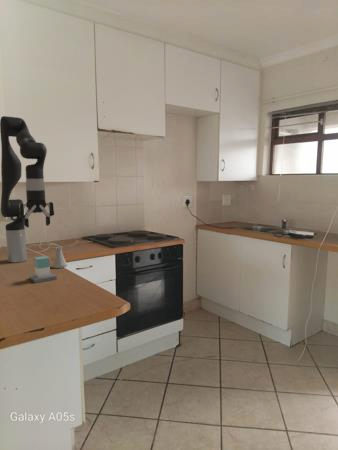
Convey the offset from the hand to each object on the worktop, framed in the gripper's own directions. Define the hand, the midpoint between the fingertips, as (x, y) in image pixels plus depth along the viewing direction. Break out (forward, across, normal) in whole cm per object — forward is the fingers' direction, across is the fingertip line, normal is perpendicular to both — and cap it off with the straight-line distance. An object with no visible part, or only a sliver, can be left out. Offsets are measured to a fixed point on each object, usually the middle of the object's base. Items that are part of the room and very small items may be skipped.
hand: (37, 226), depth 144 cm
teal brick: (+18, 0, +4) cm, 18 cm away
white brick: (+22, 0, +4) cm, 22 cm away
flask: (+24, -13, -12) cm, 29 cm away
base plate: (+23, 0, +4) cm, 23 cm away
